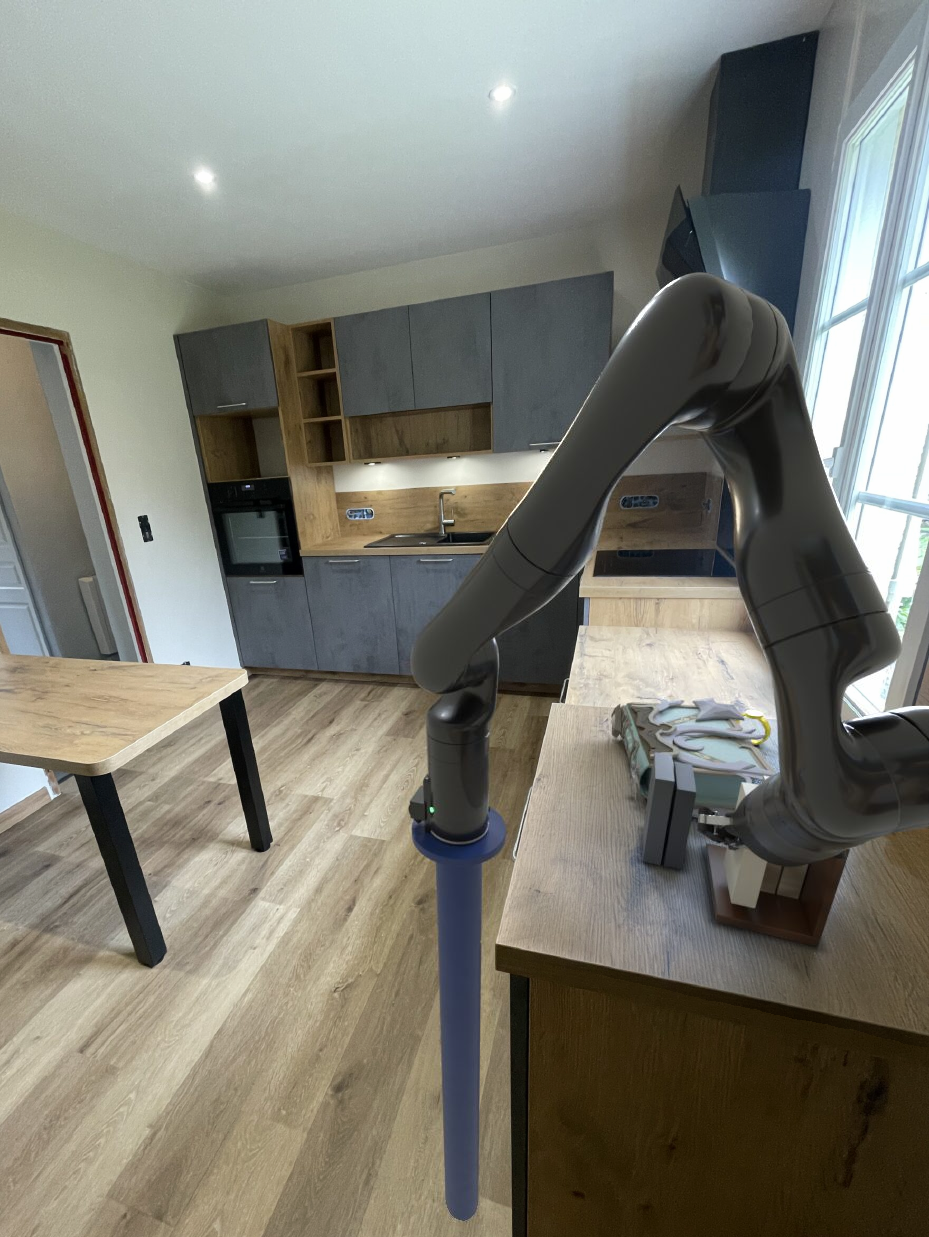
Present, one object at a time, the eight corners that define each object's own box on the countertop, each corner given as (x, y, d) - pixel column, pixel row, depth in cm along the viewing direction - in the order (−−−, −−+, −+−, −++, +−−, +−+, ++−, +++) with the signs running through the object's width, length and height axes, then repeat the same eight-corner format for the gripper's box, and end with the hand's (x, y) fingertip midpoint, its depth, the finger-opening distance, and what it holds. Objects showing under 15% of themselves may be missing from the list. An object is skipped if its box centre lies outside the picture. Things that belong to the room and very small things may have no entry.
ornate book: (605, 733, 106) (630, 821, 79) (610, 689, 103) (637, 763, 75) (728, 741, 102) (799, 836, 74) (737, 695, 99) (815, 776, 71)
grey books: (642, 861, 71) (655, 778, 66) (643, 830, 77) (654, 752, 72) (682, 869, 69) (697, 785, 64) (679, 837, 75) (693, 757, 71)
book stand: (715, 922, 61) (736, 829, 56) (704, 850, 73) (721, 767, 68) (818, 947, 58) (850, 849, 53) (790, 867, 69) (814, 780, 64)
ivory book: (731, 903, 61) (751, 816, 56) (723, 863, 67) (741, 781, 62) (755, 908, 60) (777, 820, 56) (745, 867, 66) (765, 785, 62)
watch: (769, 745, 98) (776, 717, 96) (761, 750, 97) (768, 721, 95) (737, 733, 103) (743, 705, 101) (729, 737, 101) (734, 709, 99)
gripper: (888, 791, 46) (815, 823, 61) (709, 764, 51) (682, 800, 66) (895, 881, 43) (817, 892, 58) (705, 843, 48) (678, 862, 63)
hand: (745, 843), depth 62 cm, fingers closed on ivory book, 2 cm apart
